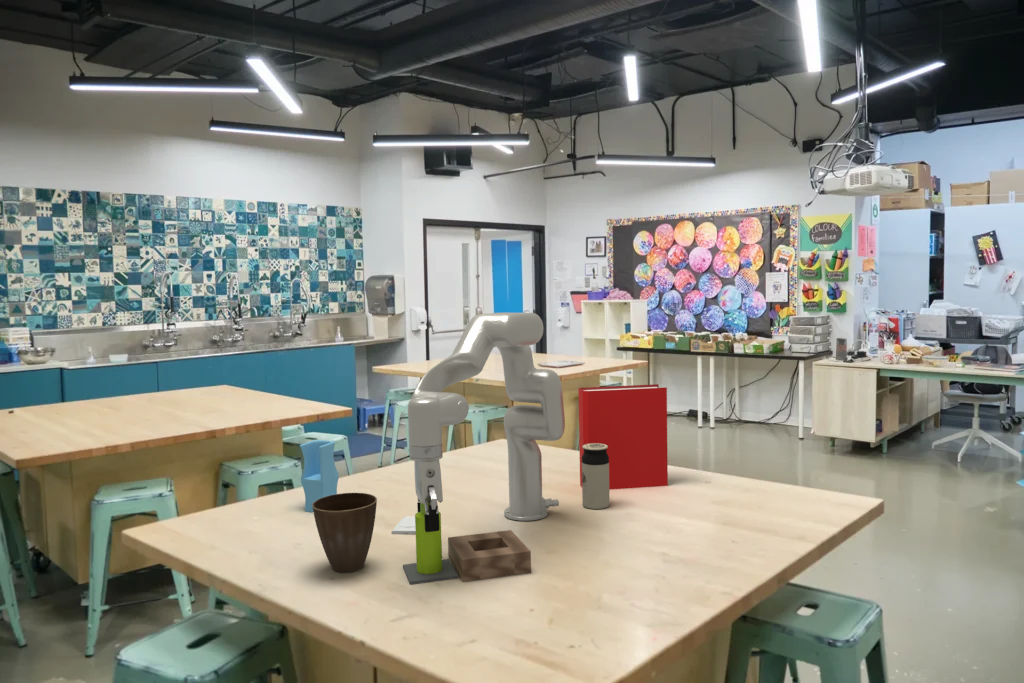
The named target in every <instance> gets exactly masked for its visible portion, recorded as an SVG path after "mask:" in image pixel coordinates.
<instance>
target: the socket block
mask: <svg viewBox="0 0 1024 683" xmlns="http://www.w3.org/2000/svg"><path fill="white" fill-rule="evenodd" d="M447 547H448V555H447V556H448V559H449V561H450V562H451V564H452V566H453V567H454V569H455V571H456V572H457V574H458V577H460V580H461V581H462V582H471V581H478V580H484V579H485V580H486V579H493V578H499V577H500V578H501V577H507V576H515V575H522V574H523V575H524V574H529V573H530V574H531V573H532V560H531V559H532V557H531V556H532V555H531V552H532V551H531V550H530V549H529V548H528V547H527V546H526V545H525V543H524V542H523V541H522V540H521V539H520V538H519V537H518V536H517V535H516V534H515V533H514V531H512V530H511V529H508V530H500V531H492V532H484V533H475V534H466V535H458V536H449V537H447Z"/></svg>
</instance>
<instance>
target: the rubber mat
mask: <svg viewBox="0 0 1024 683" xmlns="http://www.w3.org/2000/svg"><path fill="white" fill-rule="evenodd" d="M402 568H403V571H404V573H405V576H406V578H407V582H408V583H409V585H415V584H424V583H430V582H431V583H433V582H439V581H446V580H455V579H459V574H458V573H457V571H456V569H455V568H454V566H453V564H452V562H451V561H450V559H449V558H446V559H442V570H441V571H440V572H438V573H434V574H421V573H419V572H417V562H413V563H405V564H402Z"/></svg>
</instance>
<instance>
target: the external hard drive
mask: <svg viewBox="0 0 1024 683" xmlns="http://www.w3.org/2000/svg"><path fill="white" fill-rule="evenodd" d="M391 535H415V536H416V529H415V516H412V515H411V516H406V515H405V516H403V517H402V518H401V520H400V521H399V522H398V523H397V525H395V527H394V528H393V529H392V530H391Z"/></svg>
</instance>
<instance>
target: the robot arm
mask: <svg viewBox="0 0 1024 683" xmlns="http://www.w3.org/2000/svg"><path fill="white" fill-rule="evenodd" d="M543 335H544V323H543V320H542V318H541V316H539V315H538V314H537V313H534V312H492V313H479V314H477V315H474V316H473V317H472V318H471V319H470V320H469V322H468V324H467V325H466V326H465V329H464V331H463V332H462V334H461V336H460V339H459V341H458V342H457V343H456V346H455V348H454V350H453V351H452V353H451V355H449V356H448V357H445V359H442V361H440V362H439V363H437V364H435V366H433V367H432V368H430V369H429V370H428V371H426V373H425V374H424V375H423V376H422V377H421V379H420V380H419V381H418V384H417V386H416V387H415V389H414V390H413V392H412V395H411V398H410V400H409V401H408V403H407V419H408V422H407V424H408V442H409V443H408V447H409V448H408V449H409V450H408V451H409V452H408V453H409V460H410V461H414V487H415V494H416V496H417V504H416V505H417V506H416V507H417V513H418V512H420V502H421V503H422V504H424V505H425V511H426V514H424V516H425V531H426V532H433V531H439V512H440V511H439V506H438V502H439V503H442V502H443V501H444V500H443V499H444V498H443V497H444V496H443V484H442V483H443V482H442V481H443V480H442V471H441V470H442V469H441V462H440V460H441V459H443V430H442V428H443V427H445V426H455V425H459V424H461V423H462V422H463V421H465V419H466V418H467V417H468V415H469V410H470V407H469V402H468V400H467V399H466V397H465V396H463V395H462V394H459V393H456V392H445V391H443V390H444V389H447V388H448V387H450V386H452V385H455V384H457V383H459V382H464V381H466V380H469V379H472V378H473V377H475V376H478V375H479V374H480V373H481V372H482V371H483V369H484V367H485V365H486V363H487V361H488V359H489V356H490V355H491V353H492V352H493V349H494V348H497V350H498V351H499V352H500V355H501V359H502V365H503V366H502V367H503V377H504V386H505V392H506V395H507V397H508V399H509V400H510V401H512V402H515V403H528V405H527V404H516V405H512V406H510V407H509V408H507V410H506V411H505V413H504V416H503V426H504V427H503V428H504V432H505V437H506V442H507V456H508V458H507V460H508V463H507V464H508V466H507V467H508V494H509V495H508V496H509V498H508V499H509V504H508V505H509V506H508V507H506V509H504V510H503V512H504V513H503V515H504V517H505V518H507V519H509V520H512V521H519V522H526V521H527V522H529V521H530V522H531V521H537V520H541V519H544V518H546V517H548V515H549V510H548V509H549V508H550V507H558V506H560V501H559V499H552V498H544V497H543V469H542V467H543V466H542V461H543V459H542V452H541V449H540V446H539V444H538V443H537V441H543V442H556V441H558V440H560V439H561V438H562V437H563V436H564V433H565V429H566V428H565V426H566V423H565V422H566V420H565V406H564V398H563V395H564V394H563V386H562V385H563V384H562V381H561V378H560V376H559V375H558V373H557V372H555V371H554V370H552V369H549V368H548V369H547V368H544V369H543V368H536V367H535V364H534V358H533V351H532V348H531V346H533V345H535V344H537V343H538V342H540V340H541V339H542V337H543ZM529 404H530V405H529ZM531 404H540V405H531ZM426 500H428V501H426ZM428 505H429V506H428Z"/></svg>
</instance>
